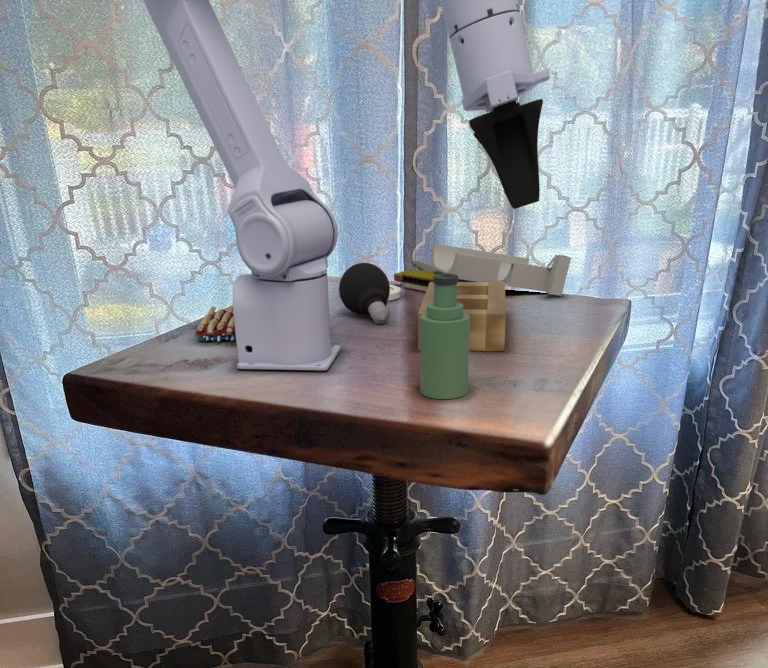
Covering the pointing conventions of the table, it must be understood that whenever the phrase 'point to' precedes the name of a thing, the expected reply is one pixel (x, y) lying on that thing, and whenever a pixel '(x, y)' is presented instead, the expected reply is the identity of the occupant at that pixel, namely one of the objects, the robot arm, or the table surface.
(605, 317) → the table surface
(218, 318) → the woven mat
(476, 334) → the hole block
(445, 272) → the skate ramp
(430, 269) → the stone
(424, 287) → the harmonica
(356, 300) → the light bulb
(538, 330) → the table surface
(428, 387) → the bottle
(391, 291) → the pendant
